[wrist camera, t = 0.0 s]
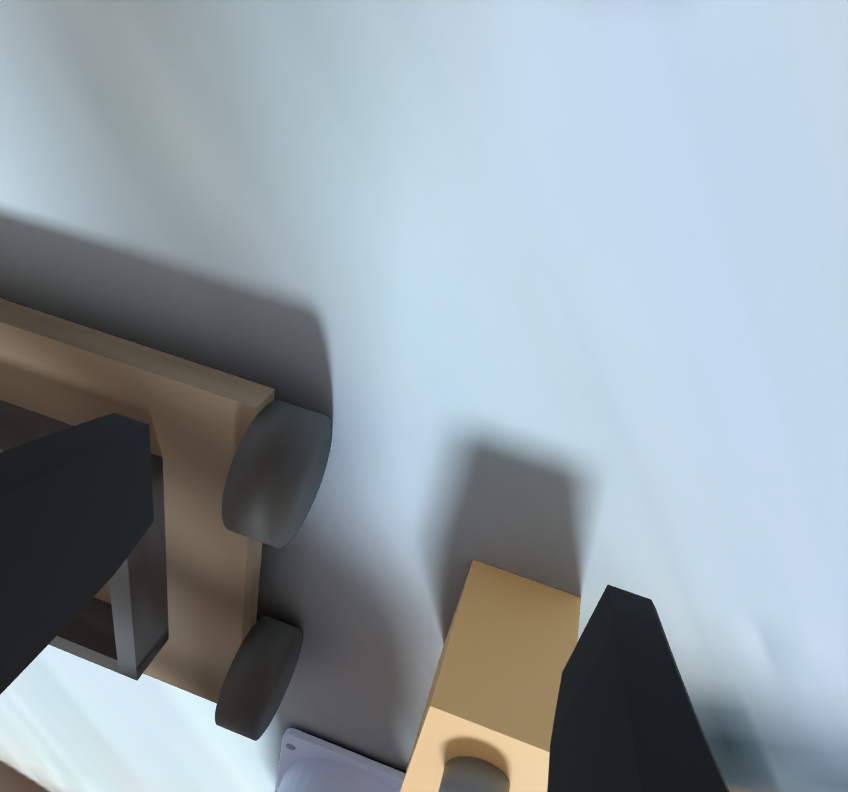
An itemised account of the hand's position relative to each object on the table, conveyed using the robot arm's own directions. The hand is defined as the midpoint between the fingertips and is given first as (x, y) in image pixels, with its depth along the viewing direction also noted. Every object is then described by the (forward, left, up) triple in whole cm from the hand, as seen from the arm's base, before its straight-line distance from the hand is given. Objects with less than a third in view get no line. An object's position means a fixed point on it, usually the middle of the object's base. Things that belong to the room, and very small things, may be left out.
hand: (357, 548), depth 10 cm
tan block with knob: (-12, -4, -10) cm, 16 cm away
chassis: (-12, +13, -10) cm, 20 cm away
